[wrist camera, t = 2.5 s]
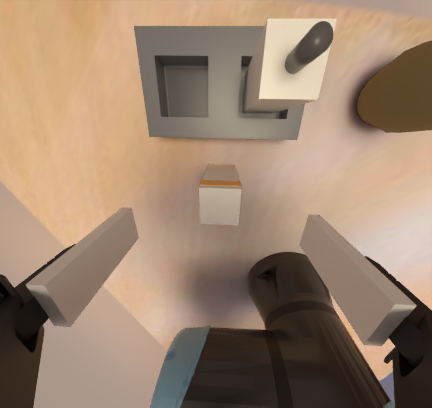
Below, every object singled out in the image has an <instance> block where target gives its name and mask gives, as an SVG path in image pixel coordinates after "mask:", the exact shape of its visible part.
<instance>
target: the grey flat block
mask: <svg viewBox="0 0 432 408" xmlns="http://www.w3.org/2000/svg"><path fill="white" fill-rule="evenodd" d="M264 27H265V26H134V30H135V37H136V44H137V51H138V58H139V65H140V73H141V80H142V87H143V94H144V101H145V108H146V115H147V122H148V129H149V136H150V137H187V138H231V139H275V140H297V138H298V133H299V129H300V124H301V119H302V115H303V110H304V105H305V104H302V105H299V106H295V107H292V108H289V109H286V110H282V111H279V112H276V113H242V112H243V99H244V86H245V74H246V72H247V69H248V67H249V64H250V62H251V59H252V57H253V54H254V52H255V49H256V47H257V44H258V42H259V39H260V37H261V34H262V32H263V29H264Z"/></svg>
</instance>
